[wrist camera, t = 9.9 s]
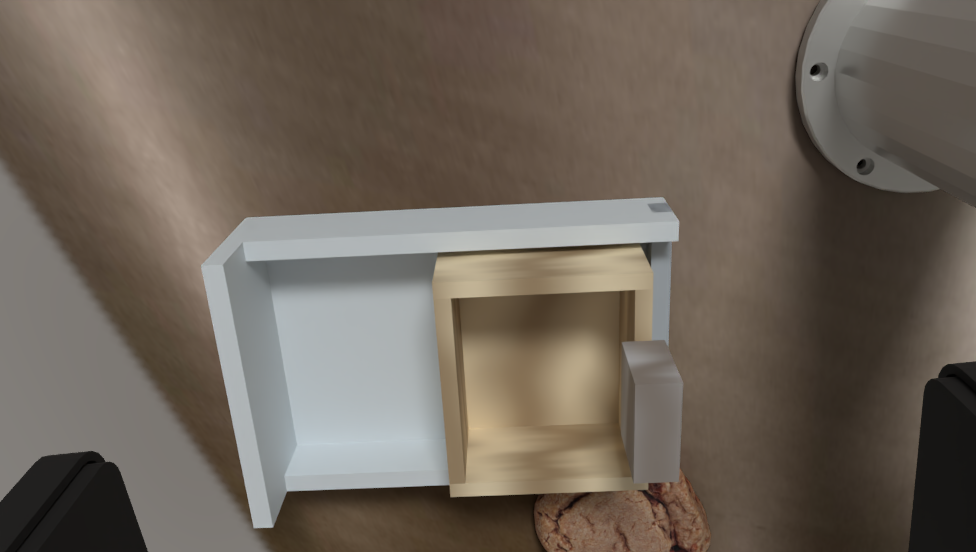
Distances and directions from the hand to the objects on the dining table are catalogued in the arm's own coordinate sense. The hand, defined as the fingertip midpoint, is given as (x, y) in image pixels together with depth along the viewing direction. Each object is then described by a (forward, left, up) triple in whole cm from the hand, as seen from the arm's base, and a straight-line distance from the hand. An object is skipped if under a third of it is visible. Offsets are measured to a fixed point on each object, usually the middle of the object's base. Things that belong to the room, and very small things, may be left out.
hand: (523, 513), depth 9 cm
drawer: (-2, +14, -32) cm, 35 cm away
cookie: (-6, +27, -34) cm, 43 cm away
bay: (+3, +14, -33) cm, 36 cm away
